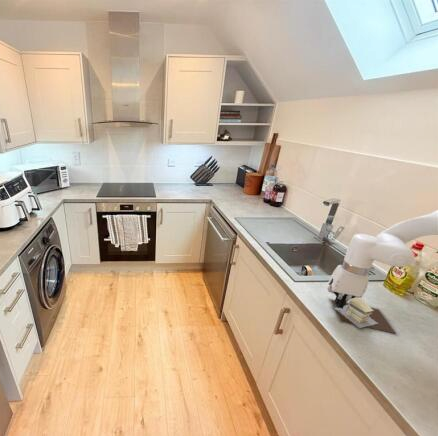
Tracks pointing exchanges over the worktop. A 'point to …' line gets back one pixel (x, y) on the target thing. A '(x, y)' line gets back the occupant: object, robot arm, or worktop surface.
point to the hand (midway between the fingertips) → (338, 305)
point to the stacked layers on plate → (357, 313)
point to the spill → (375, 315)
